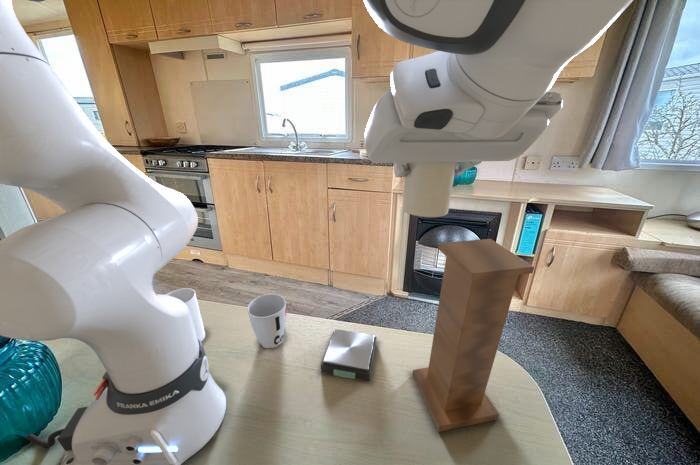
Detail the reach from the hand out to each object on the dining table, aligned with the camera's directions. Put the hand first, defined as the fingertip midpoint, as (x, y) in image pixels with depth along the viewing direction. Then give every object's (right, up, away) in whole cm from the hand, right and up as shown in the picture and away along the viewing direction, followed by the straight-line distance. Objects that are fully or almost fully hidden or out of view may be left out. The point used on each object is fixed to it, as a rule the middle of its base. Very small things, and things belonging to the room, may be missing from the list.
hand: (426, 172), depth 39 cm
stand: (+8, -39, +12) cm, 42 cm away
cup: (-29, -34, +25) cm, 51 cm away
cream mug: (0, -5, +3) cm, 5 cm away
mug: (-48, -34, +24) cm, 64 cm away
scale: (-11, -35, +21) cm, 42 cm away
